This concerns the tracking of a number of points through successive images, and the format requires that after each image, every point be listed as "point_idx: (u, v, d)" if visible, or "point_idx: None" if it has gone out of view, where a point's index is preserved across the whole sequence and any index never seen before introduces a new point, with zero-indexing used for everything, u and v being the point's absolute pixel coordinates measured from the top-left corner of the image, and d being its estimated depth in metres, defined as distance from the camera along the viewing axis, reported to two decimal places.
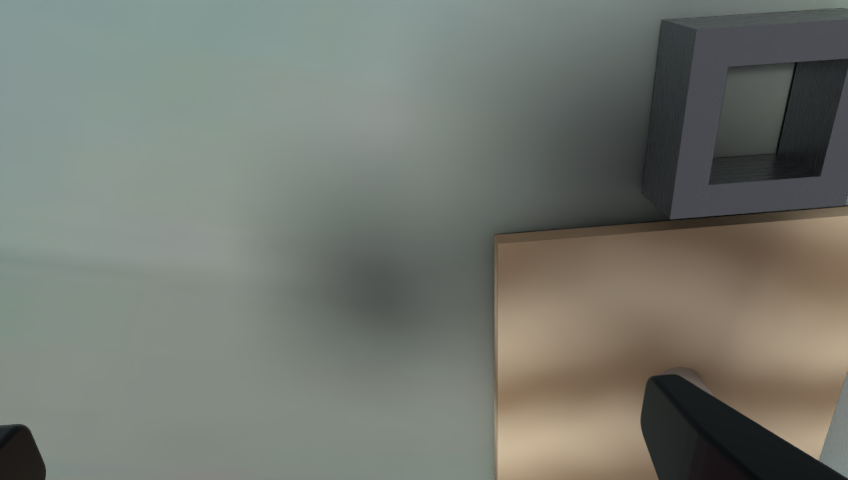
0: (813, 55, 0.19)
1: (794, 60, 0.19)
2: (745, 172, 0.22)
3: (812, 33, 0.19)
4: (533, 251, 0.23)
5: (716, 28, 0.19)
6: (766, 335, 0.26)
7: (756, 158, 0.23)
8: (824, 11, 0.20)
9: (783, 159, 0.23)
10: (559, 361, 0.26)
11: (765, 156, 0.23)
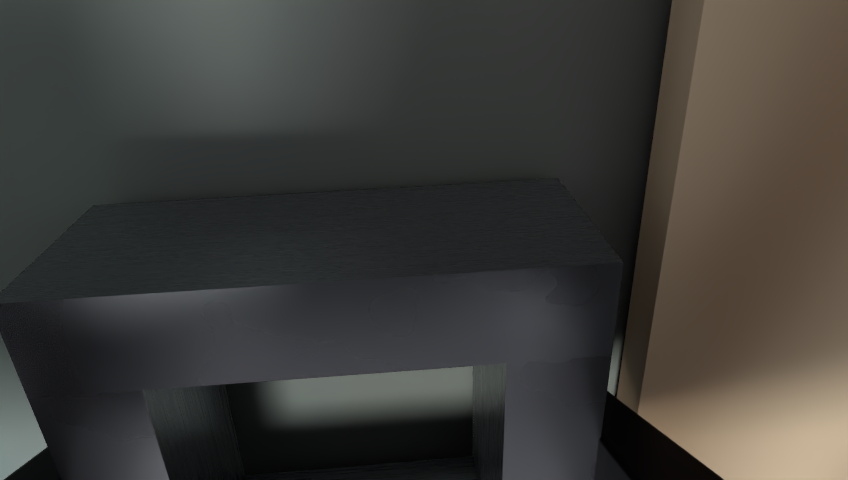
0: (153, 474, 0.07)
1: None
2: (490, 448, 0.09)
3: None
4: None
5: None
6: None
7: None
8: None
9: None
10: None
11: None
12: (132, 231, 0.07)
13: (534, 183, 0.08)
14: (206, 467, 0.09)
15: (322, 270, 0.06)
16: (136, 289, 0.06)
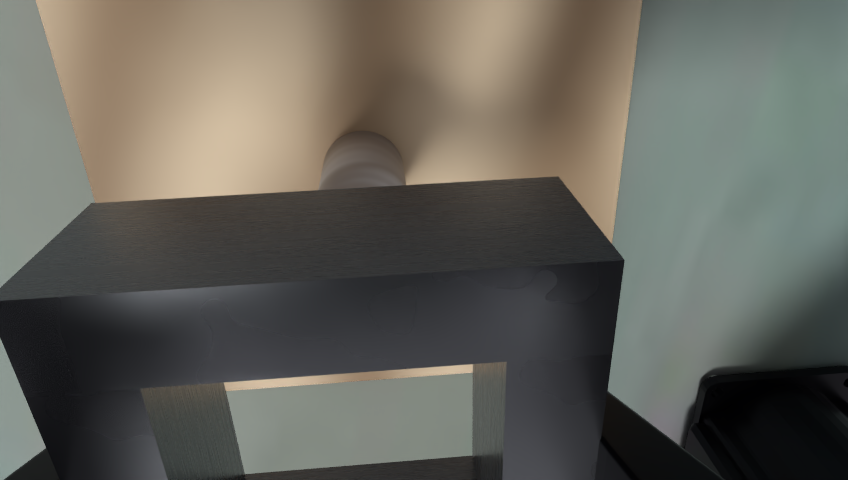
0: (151, 473, 0.07)
1: None
2: (490, 447, 0.09)
3: None
4: None
5: None
6: (261, 44, 0.16)
7: None
8: None
9: None
10: None
11: None
12: (130, 230, 0.07)
13: (534, 181, 0.08)
14: (205, 466, 0.09)
15: (321, 268, 0.06)
16: (133, 287, 0.06)
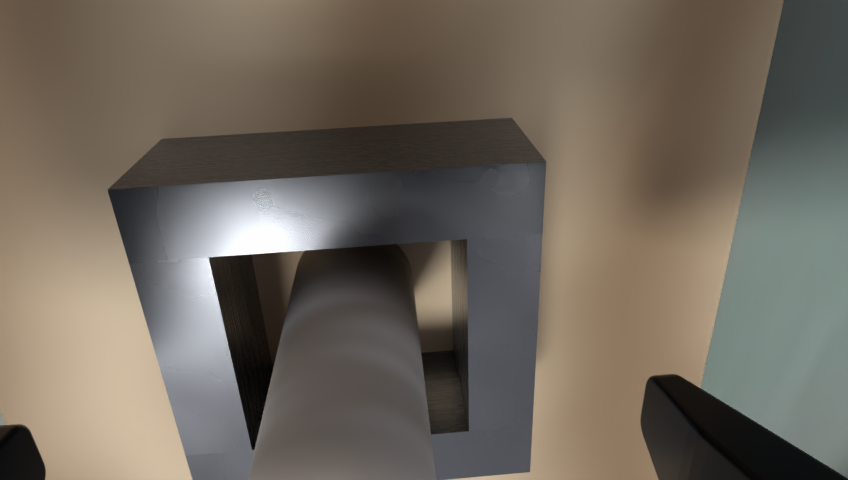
0: (213, 325, 0.10)
1: (228, 355, 0.10)
2: (461, 323, 0.11)
3: (173, 339, 0.10)
4: None
5: (193, 476, 0.11)
6: (195, 107, 0.11)
7: None
8: None
9: None
10: None
11: None
12: (194, 152, 0.10)
13: (493, 120, 0.11)
14: (246, 338, 0.11)
15: (335, 169, 0.09)
16: (206, 181, 0.09)
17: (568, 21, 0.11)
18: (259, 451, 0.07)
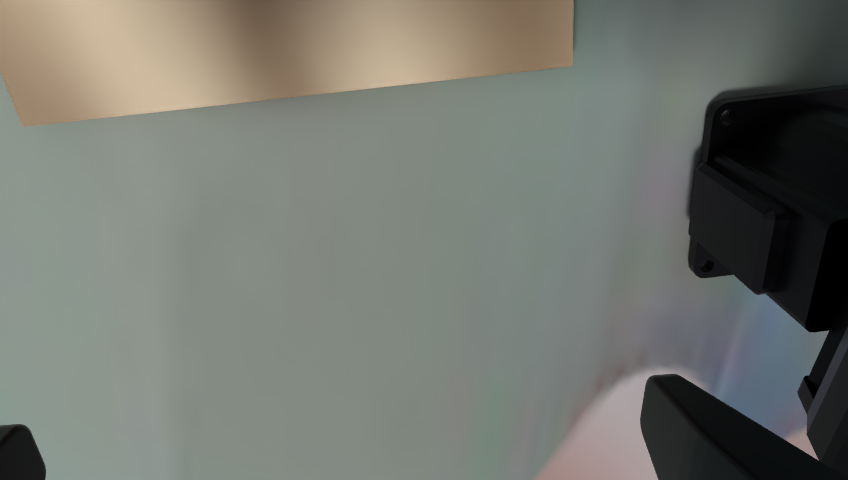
0: None
1: None
2: None
3: None
4: (19, 76, 0.17)
5: None
6: None
7: None
8: None
9: None
10: (205, 7, 0.16)
11: None
12: None
13: None
14: None
15: None
16: None
17: None
18: None
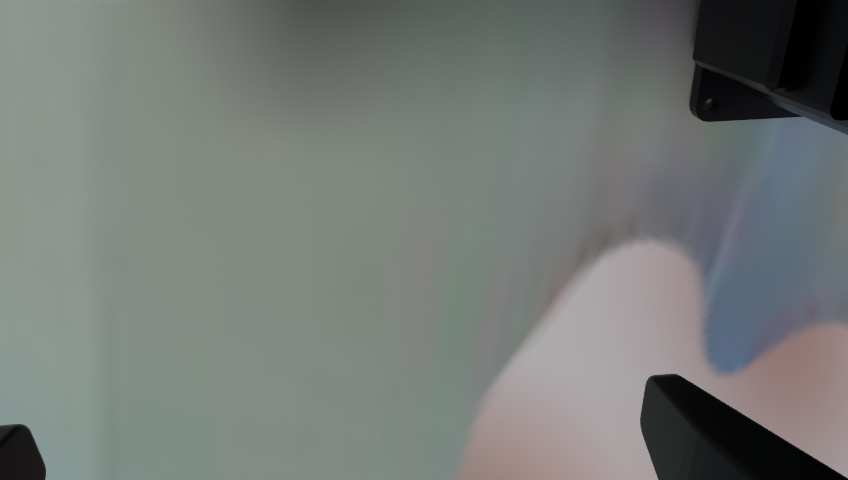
0: None
1: None
2: None
3: None
4: None
5: None
6: None
7: None
8: None
9: None
10: None
11: None
12: None
13: None
14: None
15: None
16: None
17: None
18: None
